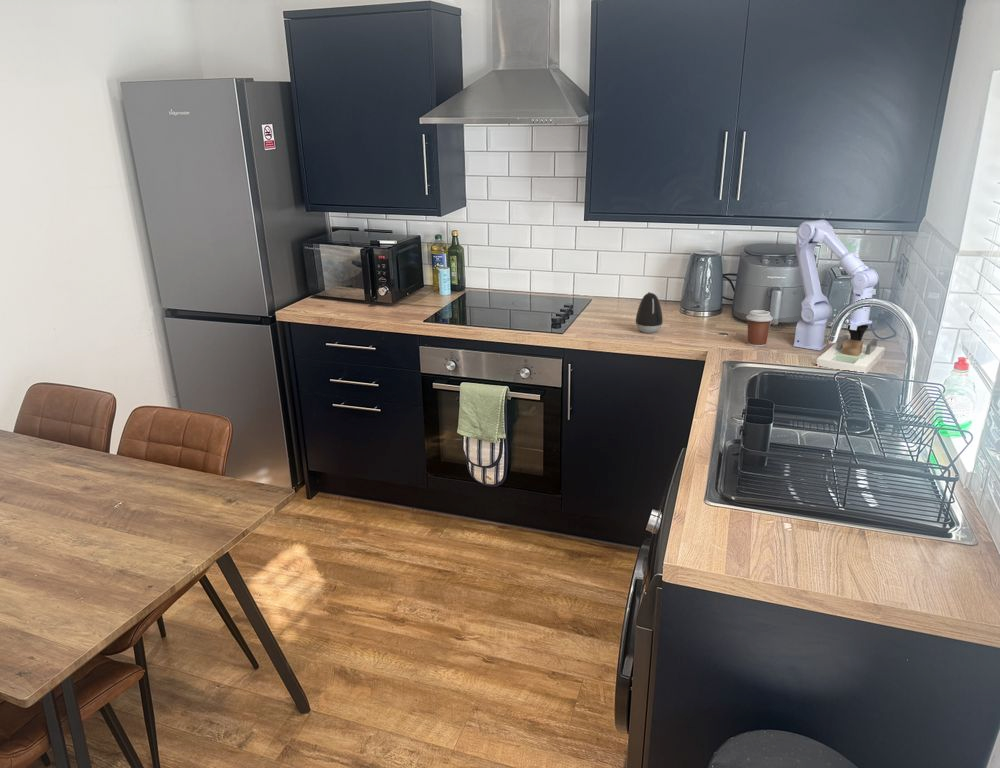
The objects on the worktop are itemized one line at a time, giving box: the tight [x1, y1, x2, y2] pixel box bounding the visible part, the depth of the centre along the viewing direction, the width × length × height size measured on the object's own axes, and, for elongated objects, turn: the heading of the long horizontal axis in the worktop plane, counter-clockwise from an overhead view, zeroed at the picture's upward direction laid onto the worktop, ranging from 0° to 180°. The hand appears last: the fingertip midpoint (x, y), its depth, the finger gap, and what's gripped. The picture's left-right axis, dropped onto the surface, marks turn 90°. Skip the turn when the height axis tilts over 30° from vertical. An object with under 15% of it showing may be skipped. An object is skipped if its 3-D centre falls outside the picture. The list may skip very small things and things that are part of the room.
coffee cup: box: [745, 309, 774, 348], centre depth 264 cm, size 9×9×12 cm
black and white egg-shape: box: [635, 291, 664, 334], centre depth 282 cm, size 10×10×15 cm
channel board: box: [815, 341, 886, 374], centre depth 246 cm, size 15×26×2 cm, turn 142°
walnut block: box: [842, 338, 864, 356], centre depth 245 cm, size 5×5×4 cm
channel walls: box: [836, 334, 878, 355], centre depth 249 cm, size 10×10×3 cm
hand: (855, 346), depth 248 cm, fingers closed
